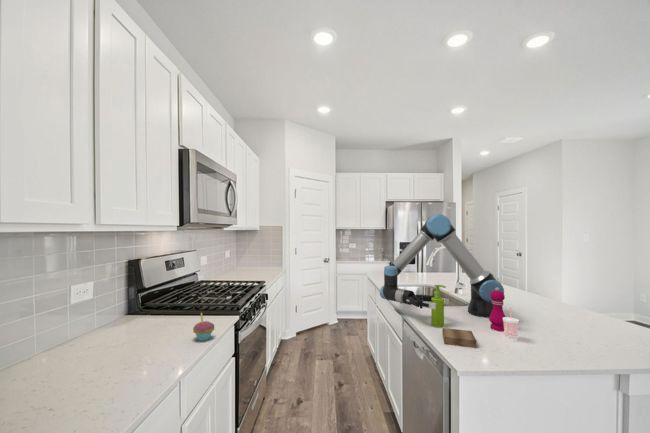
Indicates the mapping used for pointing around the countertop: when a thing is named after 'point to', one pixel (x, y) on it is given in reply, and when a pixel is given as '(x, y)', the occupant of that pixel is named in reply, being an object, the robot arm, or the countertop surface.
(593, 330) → the countertop surface
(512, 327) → the beverage cup
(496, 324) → the pepper mill
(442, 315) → the soap dispenser
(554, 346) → the countertop surface
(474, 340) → the plinth
